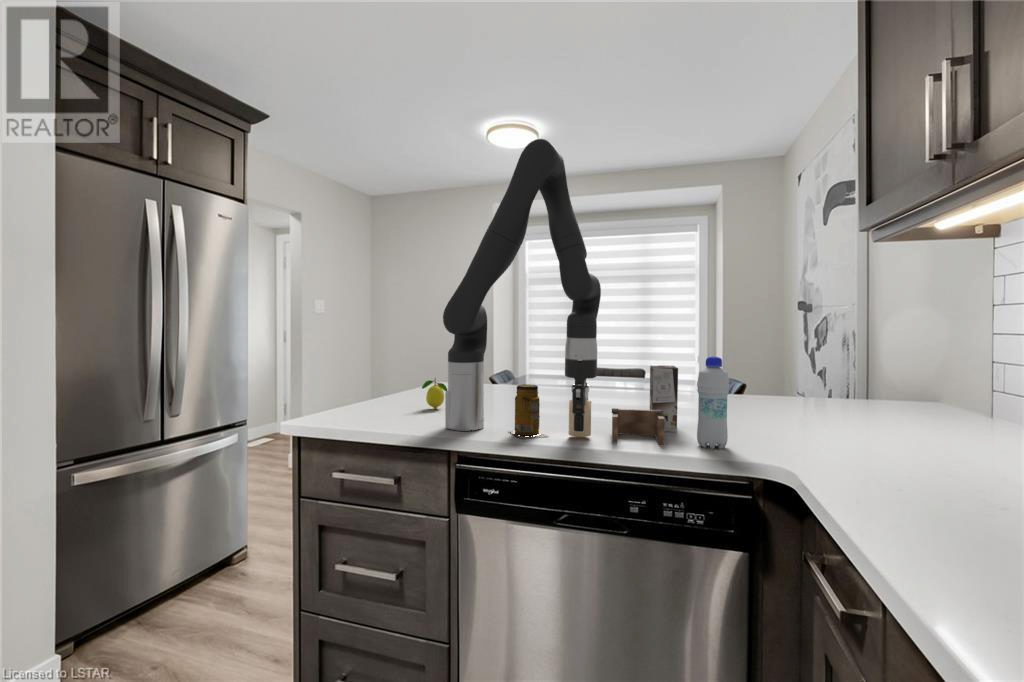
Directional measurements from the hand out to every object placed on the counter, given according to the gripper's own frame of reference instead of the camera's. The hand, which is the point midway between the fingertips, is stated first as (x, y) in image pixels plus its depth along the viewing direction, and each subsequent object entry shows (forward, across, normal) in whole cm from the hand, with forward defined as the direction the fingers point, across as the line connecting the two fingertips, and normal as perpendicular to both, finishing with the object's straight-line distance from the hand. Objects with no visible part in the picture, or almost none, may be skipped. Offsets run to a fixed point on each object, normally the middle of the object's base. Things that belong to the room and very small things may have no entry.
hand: (579, 428), depth 120 cm
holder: (+2, -2, +13) cm, 14 cm away
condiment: (+3, -1, -13) cm, 13 cm away
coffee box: (+2, -16, +20) cm, 26 cm away
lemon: (+3, -30, -48) cm, 56 cm away
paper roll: (+2, 0, 0) cm, 2 cm away
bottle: (+2, +2, +29) cm, 29 cm away
